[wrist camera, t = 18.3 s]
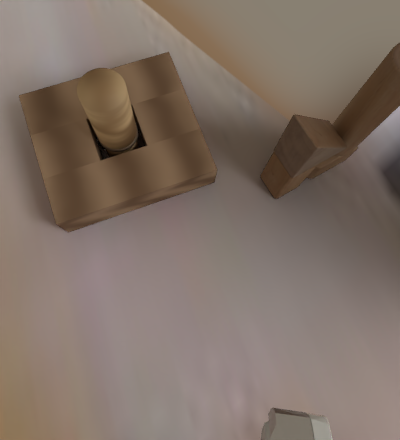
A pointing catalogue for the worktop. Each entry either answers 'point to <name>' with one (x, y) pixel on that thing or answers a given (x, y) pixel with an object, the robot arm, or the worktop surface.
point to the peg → (109, 110)
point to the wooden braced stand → (333, 131)
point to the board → (123, 163)
